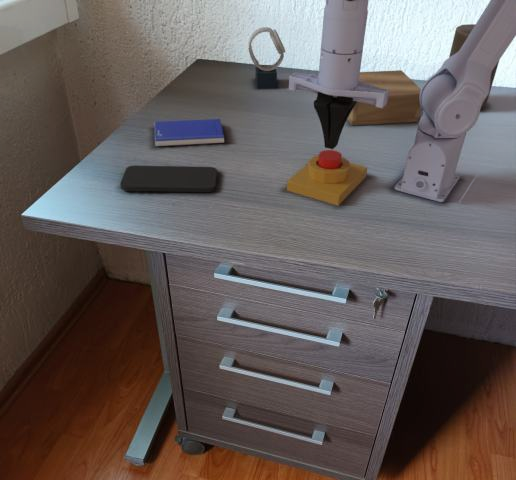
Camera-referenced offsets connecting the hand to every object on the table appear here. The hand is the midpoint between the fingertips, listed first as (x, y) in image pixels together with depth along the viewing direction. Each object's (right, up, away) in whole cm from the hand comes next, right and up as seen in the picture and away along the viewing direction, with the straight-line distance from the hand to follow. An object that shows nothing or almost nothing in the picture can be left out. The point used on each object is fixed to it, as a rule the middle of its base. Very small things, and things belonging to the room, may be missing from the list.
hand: (331, 146), depth 81 cm
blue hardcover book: (-24, +8, +17) cm, 31 cm away
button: (0, -2, +2) cm, 3 cm away
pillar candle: (+32, +20, +30) cm, 48 cm away
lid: (+13, +20, +23) cm, 33 cm away
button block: (0, -4, +4) cm, 6 cm away
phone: (-26, -4, +4) cm, 26 cm away
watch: (-9, +28, +38) cm, 48 cm away
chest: (+13, +17, +26) cm, 34 cm away
